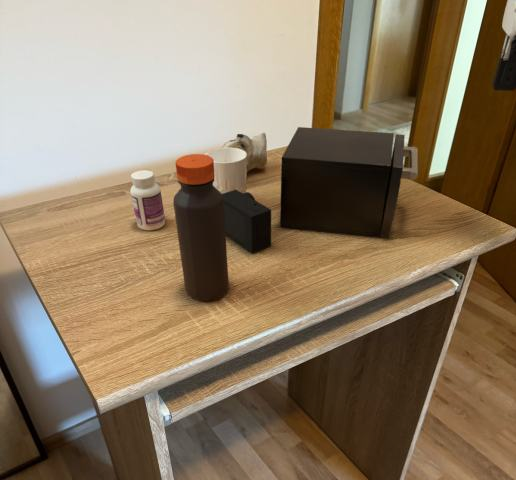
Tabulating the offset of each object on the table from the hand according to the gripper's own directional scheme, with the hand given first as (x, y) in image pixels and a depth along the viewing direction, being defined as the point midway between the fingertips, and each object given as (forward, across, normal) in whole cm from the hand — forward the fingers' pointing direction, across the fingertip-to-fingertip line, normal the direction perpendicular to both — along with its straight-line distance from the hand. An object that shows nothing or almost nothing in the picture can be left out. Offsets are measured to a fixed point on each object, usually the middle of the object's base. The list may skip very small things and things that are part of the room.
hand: (503, 88), depth 75 cm
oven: (+23, 0, +24) cm, 33 cm away
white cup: (+23, -1, +45) cm, 51 cm away
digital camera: (+23, -13, +38) cm, 46 cm away
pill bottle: (+23, -12, +57) cm, 63 cm away
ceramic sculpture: (+23, +15, +47) cm, 55 cm away
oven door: (+23, 0, +13) cm, 26 cm away
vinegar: (+23, -30, +40) cm, 55 cm away
